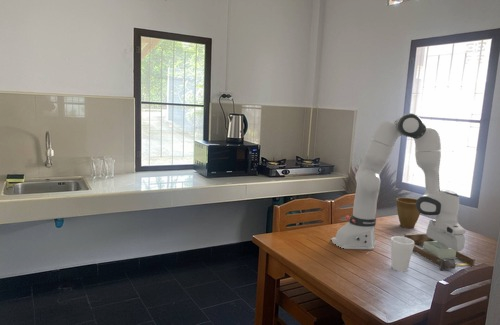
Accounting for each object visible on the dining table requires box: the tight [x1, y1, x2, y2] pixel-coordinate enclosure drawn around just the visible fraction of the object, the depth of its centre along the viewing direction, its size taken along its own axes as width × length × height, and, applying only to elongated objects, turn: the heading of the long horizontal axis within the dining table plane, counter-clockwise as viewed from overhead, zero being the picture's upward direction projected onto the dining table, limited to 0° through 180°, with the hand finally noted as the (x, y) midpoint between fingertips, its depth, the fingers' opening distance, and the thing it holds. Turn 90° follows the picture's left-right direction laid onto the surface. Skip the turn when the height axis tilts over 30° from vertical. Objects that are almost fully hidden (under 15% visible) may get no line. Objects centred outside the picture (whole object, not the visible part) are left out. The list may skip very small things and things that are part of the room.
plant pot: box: [396, 197, 421, 229], centre depth 225 cm, size 15×15×16 cm
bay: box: [403, 232, 476, 271], centre depth 179 cm, size 22×31×6 cm
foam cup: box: [390, 236, 415, 273], centre depth 163 cm, size 10×9×13 cm
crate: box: [422, 241, 456, 261], centre depth 180 cm, size 10×10×5 cm
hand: (442, 252), depth 179 cm, fingers closed
